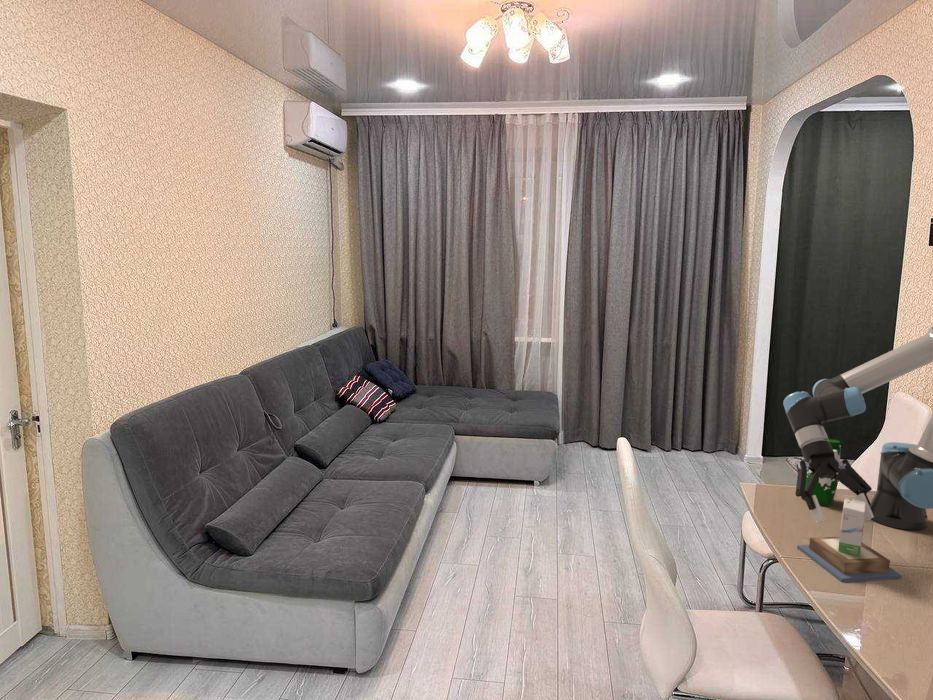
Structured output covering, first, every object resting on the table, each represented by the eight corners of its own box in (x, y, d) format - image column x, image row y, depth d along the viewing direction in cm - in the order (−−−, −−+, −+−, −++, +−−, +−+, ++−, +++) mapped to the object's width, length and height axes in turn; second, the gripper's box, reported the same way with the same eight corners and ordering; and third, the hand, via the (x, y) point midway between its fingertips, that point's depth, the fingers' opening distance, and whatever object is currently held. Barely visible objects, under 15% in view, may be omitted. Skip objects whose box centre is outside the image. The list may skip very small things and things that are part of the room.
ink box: (860, 556, 171) (865, 511, 169) (837, 551, 173) (842, 507, 171) (861, 543, 178) (866, 500, 176) (839, 539, 180) (844, 496, 178)
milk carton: (832, 508, 212) (838, 445, 208) (800, 501, 217) (806, 439, 214) (837, 499, 218) (843, 439, 215) (806, 493, 224) (812, 433, 220)
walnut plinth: (850, 546, 184) (852, 535, 183) (888, 571, 170) (890, 559, 169) (808, 548, 182) (810, 537, 182) (843, 574, 168) (845, 561, 168)
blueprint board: (852, 545, 186) (852, 542, 186) (901, 578, 168) (902, 575, 168) (797, 548, 184) (797, 545, 184) (841, 581, 166) (841, 578, 166)
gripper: (849, 450, 193) (881, 523, 181) (765, 452, 189) (792, 527, 178) (864, 437, 187) (898, 512, 175) (778, 440, 183) (807, 516, 171)
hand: (845, 520), depth 176 cm, fingers open, 13 cm apart
